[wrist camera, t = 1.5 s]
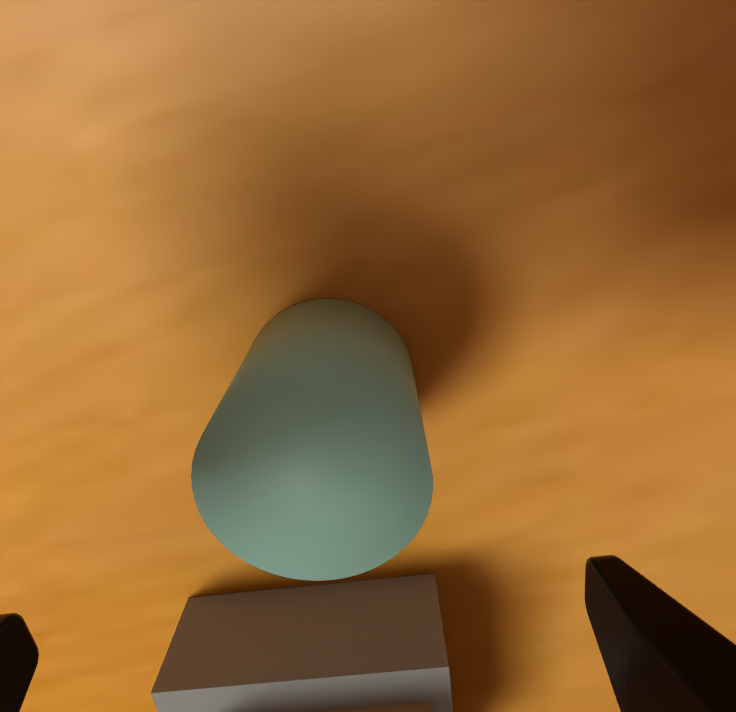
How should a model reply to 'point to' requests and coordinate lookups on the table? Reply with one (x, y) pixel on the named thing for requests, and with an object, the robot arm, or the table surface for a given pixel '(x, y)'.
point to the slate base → (309, 649)
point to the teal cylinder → (317, 447)
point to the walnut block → (392, 708)
